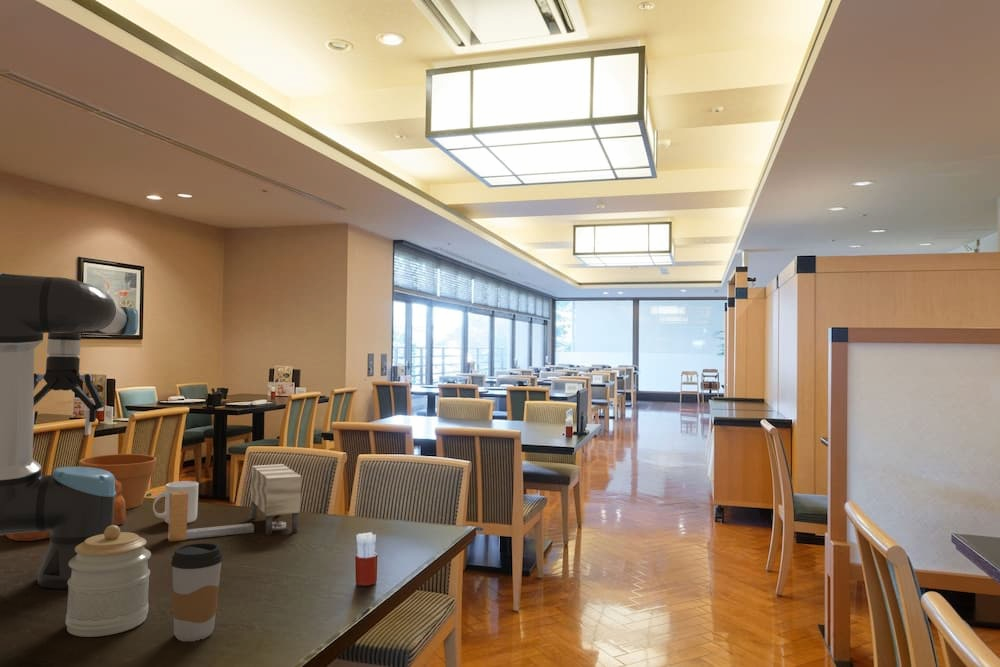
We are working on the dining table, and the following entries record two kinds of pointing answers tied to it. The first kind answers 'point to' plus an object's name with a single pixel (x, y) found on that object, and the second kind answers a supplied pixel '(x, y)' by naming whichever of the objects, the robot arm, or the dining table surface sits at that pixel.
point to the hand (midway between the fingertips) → (59, 434)
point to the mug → (177, 487)
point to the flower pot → (126, 473)
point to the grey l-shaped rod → (180, 531)
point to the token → (278, 525)
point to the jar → (108, 584)
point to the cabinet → (275, 493)
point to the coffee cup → (195, 589)
